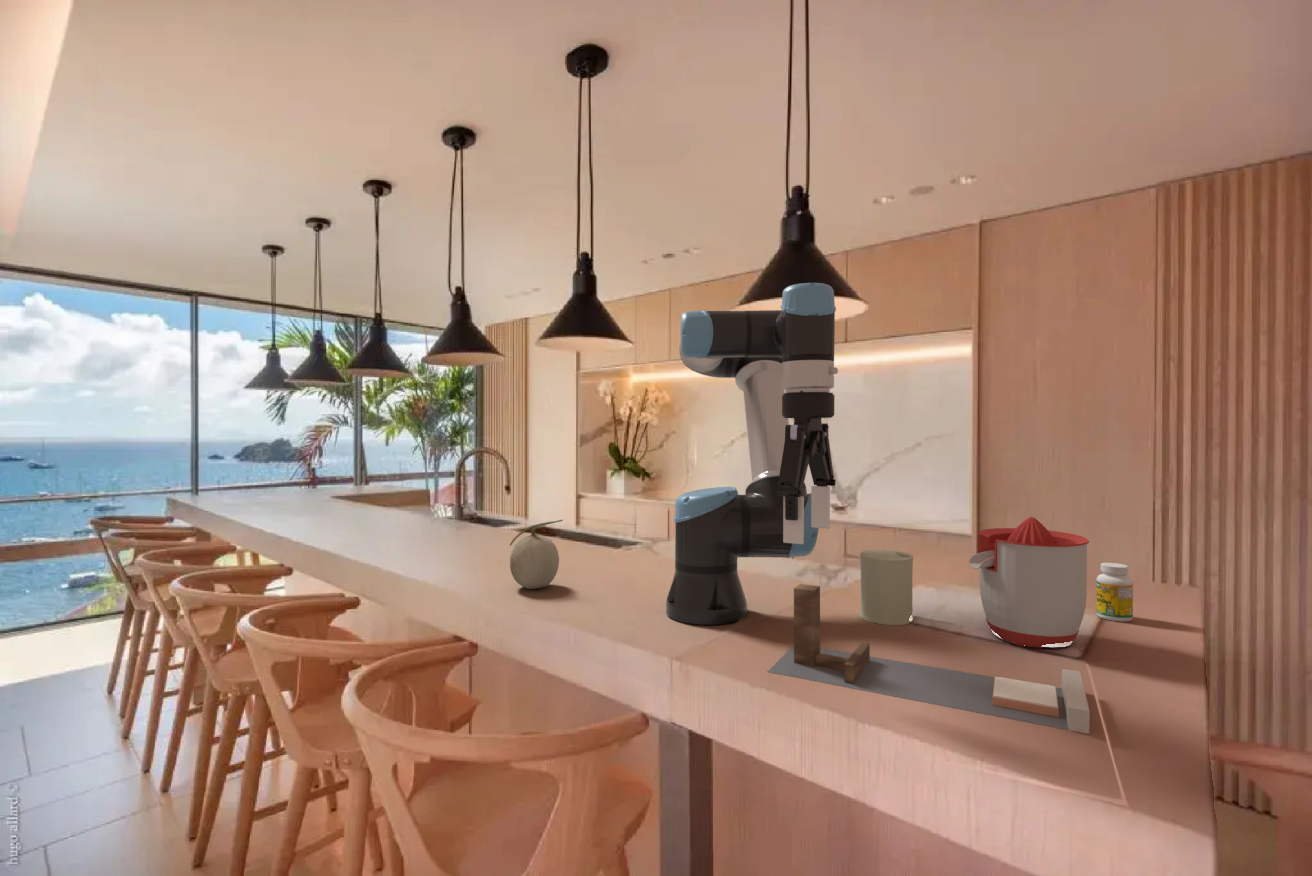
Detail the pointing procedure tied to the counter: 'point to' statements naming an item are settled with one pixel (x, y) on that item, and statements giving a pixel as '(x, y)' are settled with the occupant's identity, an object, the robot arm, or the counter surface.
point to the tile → (1025, 696)
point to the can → (886, 587)
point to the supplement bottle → (1114, 593)
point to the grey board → (944, 688)
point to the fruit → (534, 559)
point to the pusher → (810, 637)
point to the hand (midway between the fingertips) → (807, 535)
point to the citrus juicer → (1032, 583)
